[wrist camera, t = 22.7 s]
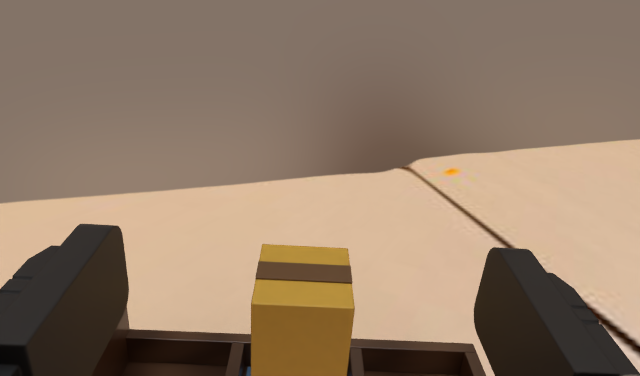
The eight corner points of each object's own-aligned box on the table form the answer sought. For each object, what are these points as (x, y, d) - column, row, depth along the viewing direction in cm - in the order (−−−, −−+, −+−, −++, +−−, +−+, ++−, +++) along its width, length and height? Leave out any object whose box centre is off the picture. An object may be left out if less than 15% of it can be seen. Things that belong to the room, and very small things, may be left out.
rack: (55, 501, 24) (14, 344, 20) (122, 361, 32) (103, 230, 28) (515, 514, 25) (570, 367, 21) (465, 375, 33) (497, 250, 29)
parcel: (250, 455, 26) (251, 301, 22) (260, 381, 30) (262, 242, 26) (337, 458, 26) (354, 306, 22) (333, 384, 30) (348, 246, 26)
